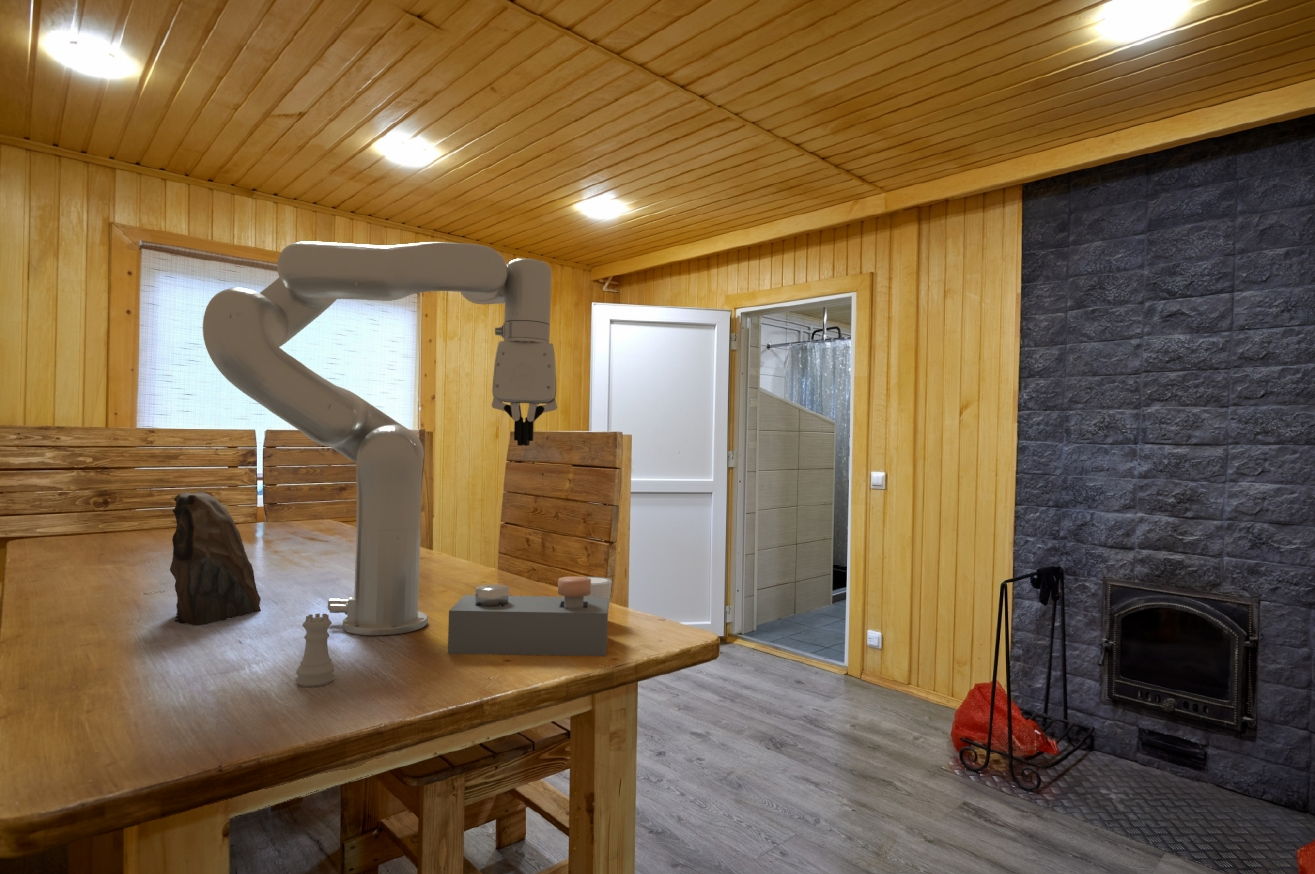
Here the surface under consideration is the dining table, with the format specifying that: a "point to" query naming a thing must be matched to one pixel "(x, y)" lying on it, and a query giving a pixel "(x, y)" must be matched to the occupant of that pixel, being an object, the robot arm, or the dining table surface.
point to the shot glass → (600, 588)
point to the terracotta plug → (574, 590)
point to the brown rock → (210, 563)
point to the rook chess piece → (316, 654)
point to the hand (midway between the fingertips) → (523, 445)
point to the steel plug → (491, 595)
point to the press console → (529, 627)
